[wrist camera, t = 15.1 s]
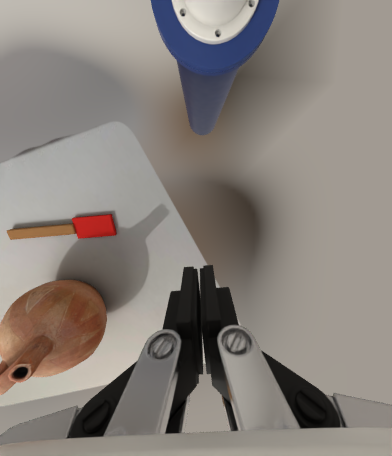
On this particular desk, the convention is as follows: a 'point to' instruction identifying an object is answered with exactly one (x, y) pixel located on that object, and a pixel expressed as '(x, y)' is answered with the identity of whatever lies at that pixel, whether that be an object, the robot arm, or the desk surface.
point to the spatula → (70, 228)
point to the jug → (50, 331)
